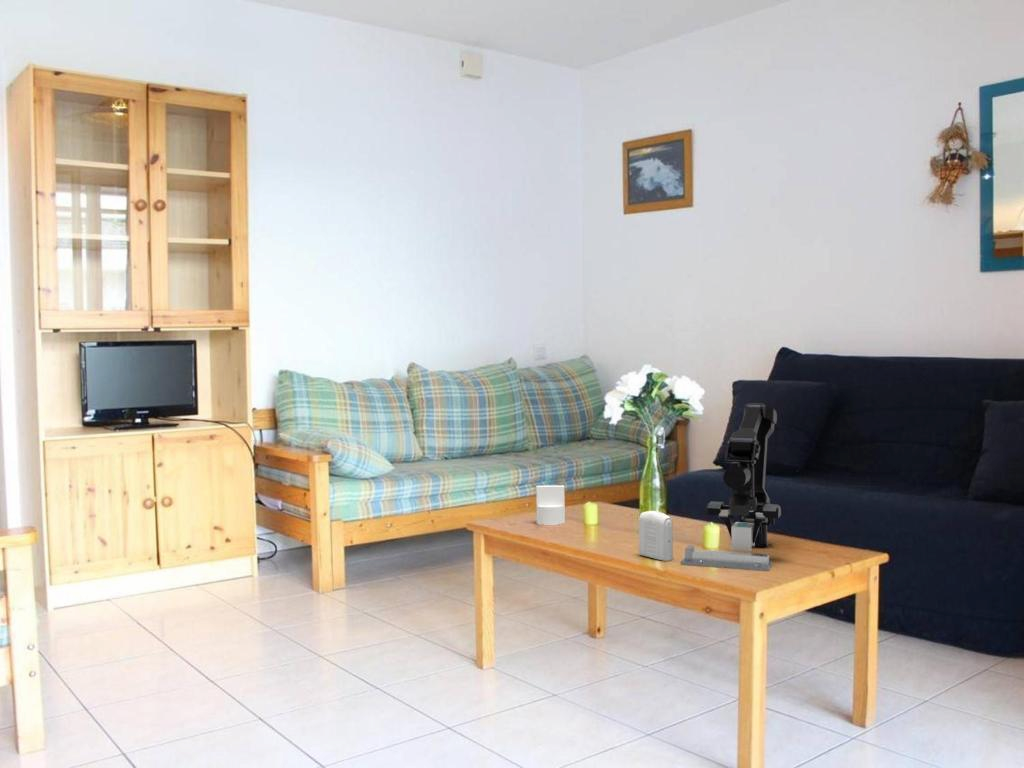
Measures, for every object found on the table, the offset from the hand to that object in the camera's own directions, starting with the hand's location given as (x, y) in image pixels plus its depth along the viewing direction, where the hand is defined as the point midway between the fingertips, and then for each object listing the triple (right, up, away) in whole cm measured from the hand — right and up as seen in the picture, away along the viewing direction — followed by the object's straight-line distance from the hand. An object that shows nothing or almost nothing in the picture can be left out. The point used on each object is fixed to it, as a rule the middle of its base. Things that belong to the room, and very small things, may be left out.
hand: (743, 542), depth 255 cm
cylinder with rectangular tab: (-49, -3, +53) cm, 72 cm away
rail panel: (-6, -5, -6) cm, 10 cm away
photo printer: (-23, -5, +3) cm, 23 cm away
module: (0, -1, 0) cm, 1 cm away
